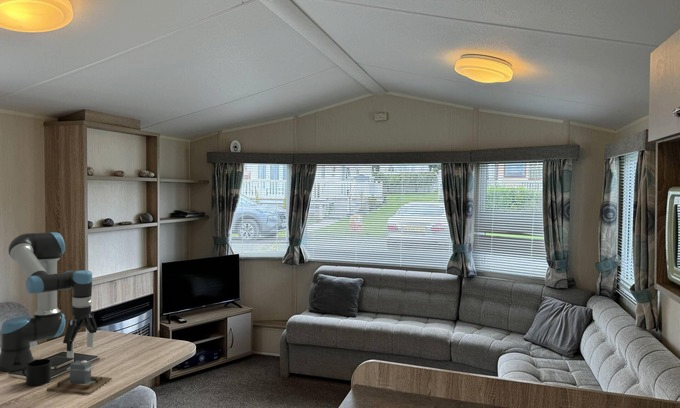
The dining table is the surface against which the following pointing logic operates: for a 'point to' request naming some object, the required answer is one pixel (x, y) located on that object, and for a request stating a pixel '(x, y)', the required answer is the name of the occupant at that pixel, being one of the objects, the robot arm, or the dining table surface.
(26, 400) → the dining table surface
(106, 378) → the tray
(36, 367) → the mug
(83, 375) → the servo
